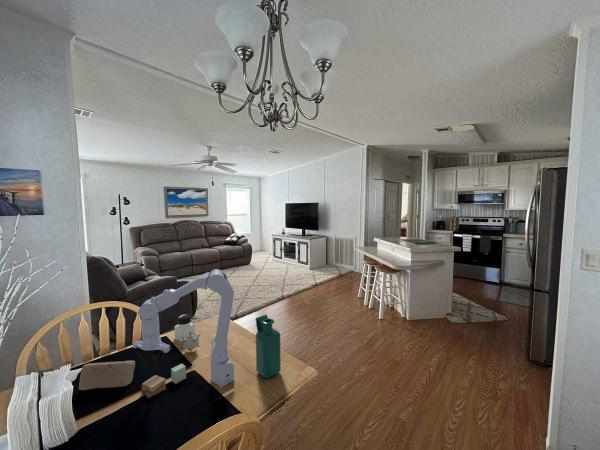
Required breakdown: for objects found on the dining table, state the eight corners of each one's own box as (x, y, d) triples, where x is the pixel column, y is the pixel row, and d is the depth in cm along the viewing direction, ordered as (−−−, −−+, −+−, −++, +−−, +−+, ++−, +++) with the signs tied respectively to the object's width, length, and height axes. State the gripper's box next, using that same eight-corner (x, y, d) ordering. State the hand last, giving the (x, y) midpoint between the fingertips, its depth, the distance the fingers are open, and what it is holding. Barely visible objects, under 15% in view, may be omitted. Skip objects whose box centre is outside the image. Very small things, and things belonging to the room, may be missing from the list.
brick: (135, 359, 104) (131, 362, 100) (132, 382, 102) (127, 386, 98) (87, 362, 100) (81, 365, 96) (83, 386, 98) (76, 391, 94)
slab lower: (165, 391, 97) (165, 386, 97) (147, 399, 93) (147, 394, 93) (159, 383, 102) (159, 378, 101) (142, 391, 97) (142, 386, 97)
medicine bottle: (195, 337, 136) (194, 315, 135) (182, 343, 130) (182, 320, 129) (187, 333, 140) (186, 312, 139) (174, 339, 134) (173, 317, 133)
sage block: (186, 378, 104) (185, 366, 104) (175, 384, 100) (174, 371, 100) (182, 375, 106) (181, 363, 105) (171, 381, 102) (170, 369, 102)
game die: (204, 347, 127) (203, 327, 126) (195, 357, 118) (194, 336, 117) (186, 346, 127) (186, 326, 127) (177, 356, 119) (176, 335, 118)
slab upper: (165, 383, 99) (165, 378, 99) (152, 393, 94) (152, 387, 94) (155, 379, 101) (155, 374, 101) (142, 389, 96) (141, 383, 96)
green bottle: (282, 371, 108) (282, 320, 106) (265, 380, 102) (265, 326, 101) (269, 360, 115) (268, 313, 114) (252, 368, 110) (252, 318, 108)
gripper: (175, 329, 98) (176, 363, 99) (143, 325, 101) (144, 358, 102) (161, 338, 91) (162, 375, 92) (127, 334, 94) (129, 369, 95)
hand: (152, 367), depth 97 cm, fingers open, 4 cm apart
